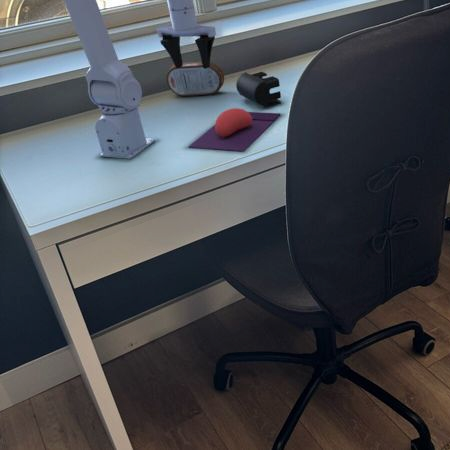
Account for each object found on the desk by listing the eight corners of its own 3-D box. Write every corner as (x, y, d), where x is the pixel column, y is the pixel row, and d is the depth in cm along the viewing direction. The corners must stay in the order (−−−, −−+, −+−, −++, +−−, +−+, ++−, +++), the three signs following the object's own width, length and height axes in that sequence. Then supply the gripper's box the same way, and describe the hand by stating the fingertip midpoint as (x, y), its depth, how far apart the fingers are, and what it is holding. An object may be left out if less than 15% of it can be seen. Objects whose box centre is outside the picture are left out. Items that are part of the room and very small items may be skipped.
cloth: (243, 151, 115) (243, 149, 115) (188, 147, 120) (188, 145, 119) (281, 115, 131) (280, 113, 130) (231, 112, 135) (230, 110, 135)
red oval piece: (213, 137, 126) (204, 119, 120) (243, 112, 128) (236, 94, 123) (227, 149, 124) (219, 132, 118) (257, 124, 126) (251, 106, 120)
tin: (226, 90, 149) (221, 59, 145) (224, 95, 147) (218, 62, 142) (172, 94, 151) (165, 63, 147) (168, 98, 149) (161, 66, 144)
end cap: (238, 101, 141) (234, 75, 138) (263, 94, 144) (259, 68, 141) (257, 112, 134) (253, 84, 130) (282, 104, 137) (279, 76, 133)
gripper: (217, 3, 129) (227, 62, 136) (163, 4, 134) (175, 61, 141) (202, 10, 124) (213, 71, 131) (147, 11, 129) (160, 70, 136)
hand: (193, 67), depth 136 cm, fingers open, 7 cm apart
